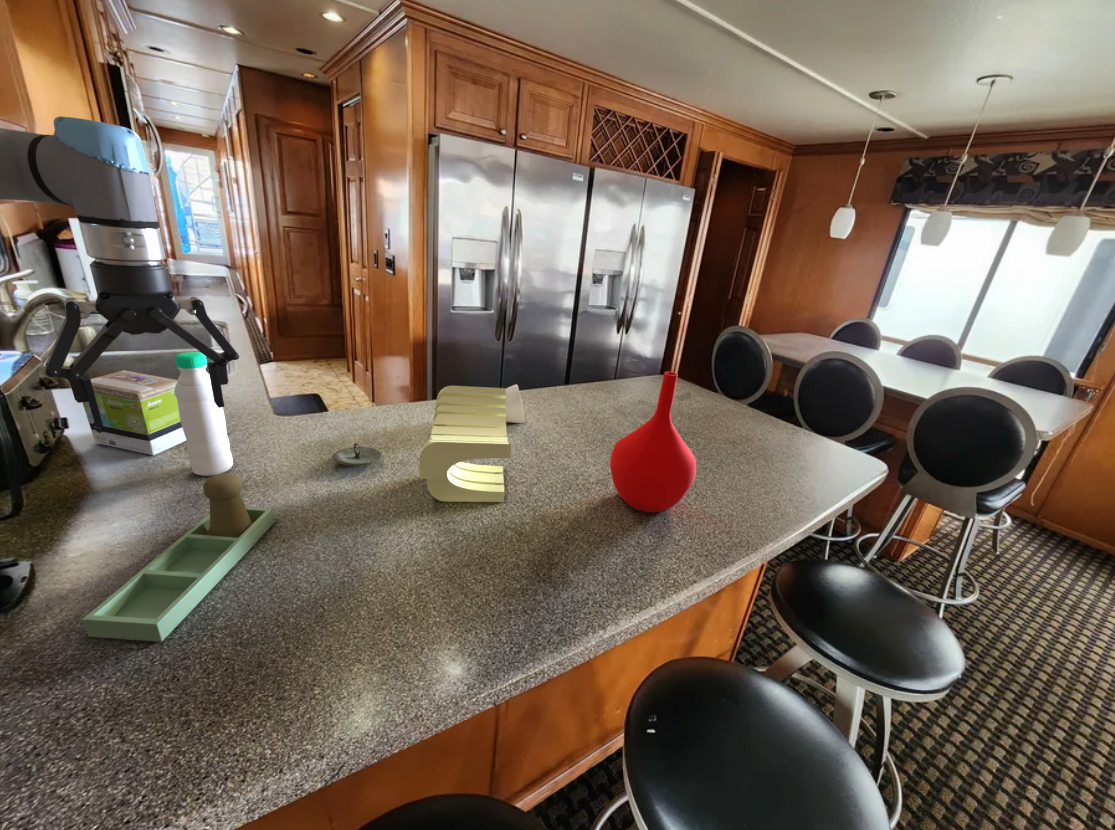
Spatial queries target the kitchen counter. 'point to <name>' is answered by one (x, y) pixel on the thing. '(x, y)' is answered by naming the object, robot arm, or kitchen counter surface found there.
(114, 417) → the tea box
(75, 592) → the kitchen counter surface
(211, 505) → the cork
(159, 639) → the compartment tray
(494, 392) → the slatted curved stool
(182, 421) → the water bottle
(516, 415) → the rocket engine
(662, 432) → the vase
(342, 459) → the lid
